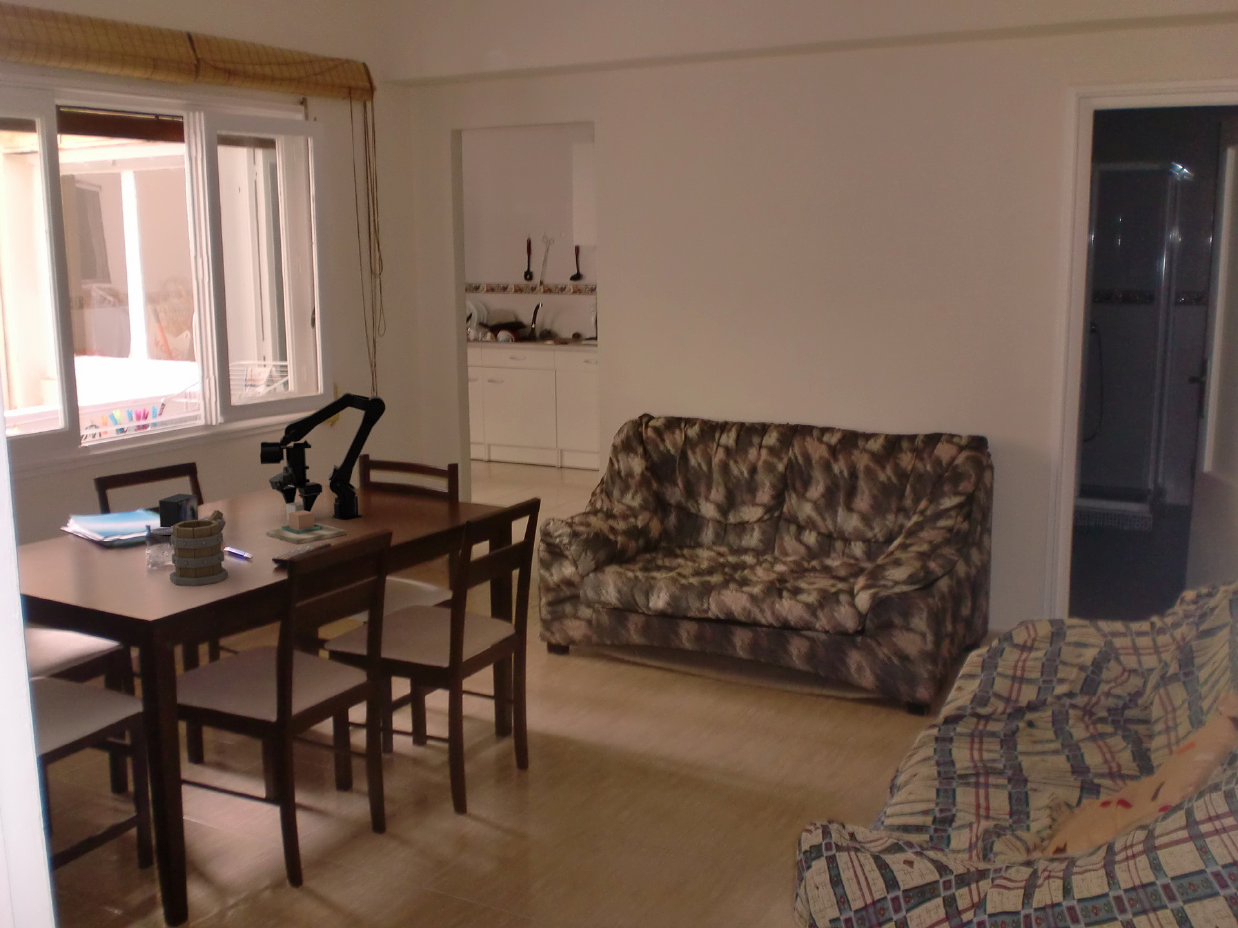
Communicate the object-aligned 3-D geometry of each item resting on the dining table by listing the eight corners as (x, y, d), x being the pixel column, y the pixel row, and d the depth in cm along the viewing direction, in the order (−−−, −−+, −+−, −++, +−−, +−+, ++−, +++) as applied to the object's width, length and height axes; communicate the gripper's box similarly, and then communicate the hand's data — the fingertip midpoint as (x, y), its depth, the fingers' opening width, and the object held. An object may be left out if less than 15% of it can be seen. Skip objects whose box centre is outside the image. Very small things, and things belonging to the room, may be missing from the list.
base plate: (314, 526, 343) (314, 518, 343) (345, 534, 333) (345, 527, 332) (266, 535, 332) (266, 527, 332) (296, 544, 321) (296, 536, 321)
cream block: (301, 517, 356) (300, 501, 356) (310, 519, 353) (309, 503, 352) (287, 519, 353) (286, 503, 352) (296, 522, 349) (295, 505, 349)
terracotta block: (304, 527, 337) (303, 510, 336) (314, 529, 334) (313, 512, 333) (289, 529, 333) (288, 512, 332) (299, 532, 330) (298, 515, 329)
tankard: (210, 586, 279) (206, 526, 276) (161, 584, 281) (157, 524, 278) (249, 566, 298) (246, 509, 295) (203, 564, 300) (200, 507, 298)
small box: (180, 537, 330) (177, 501, 328) (159, 536, 331) (157, 500, 330) (200, 528, 340) (198, 494, 339) (180, 527, 342) (178, 493, 340)
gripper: (256, 462, 350) (258, 512, 353) (289, 470, 338) (291, 522, 341) (288, 458, 358) (291, 507, 361) (322, 465, 346) (324, 516, 349)
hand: (298, 513), depth 353 cm, fingers open, 9 cm apart
